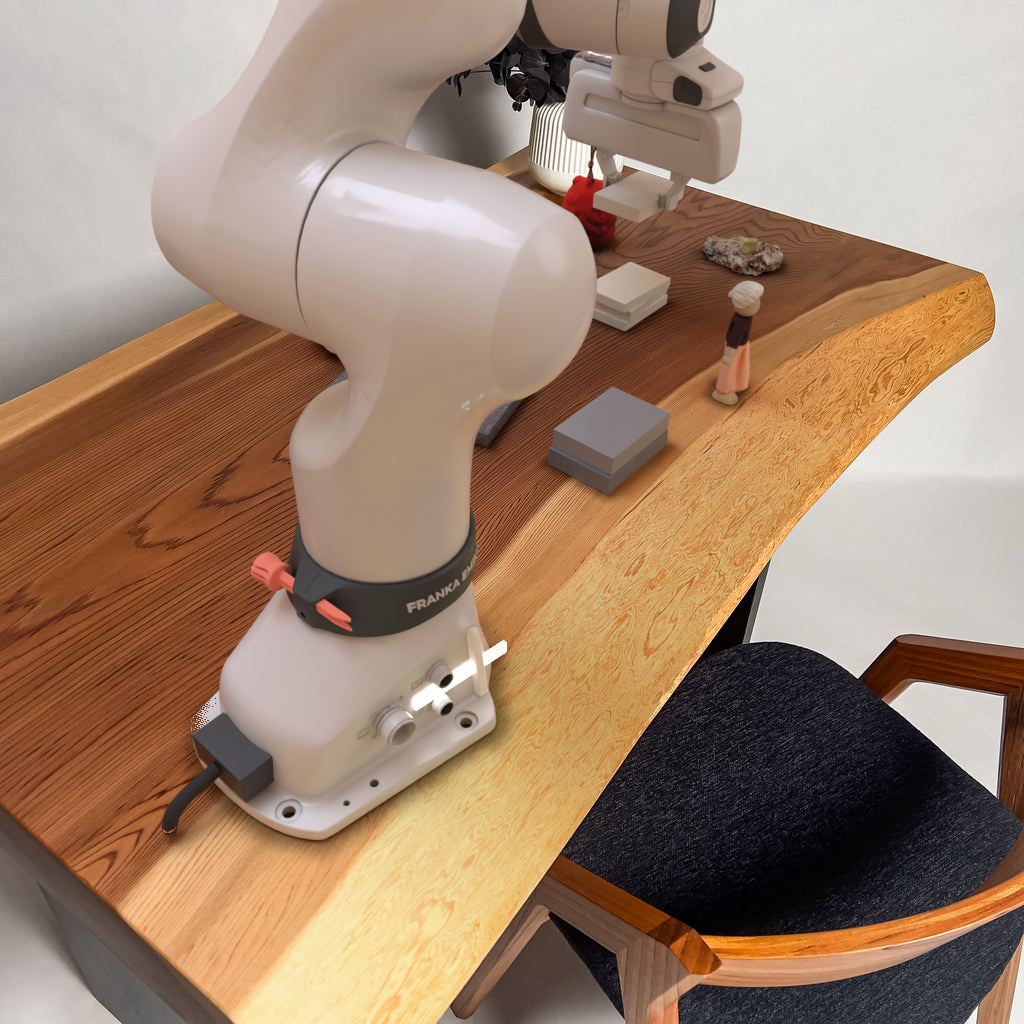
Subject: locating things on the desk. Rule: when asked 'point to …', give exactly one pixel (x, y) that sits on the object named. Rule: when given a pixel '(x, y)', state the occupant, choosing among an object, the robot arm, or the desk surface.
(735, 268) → the mineral rock
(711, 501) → the desk surface
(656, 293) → the white stack
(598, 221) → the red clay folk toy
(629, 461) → the grey stack
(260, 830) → the desk surface
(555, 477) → the desk surface
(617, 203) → the white flat block
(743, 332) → the grandmother figurine
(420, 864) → the desk surface
